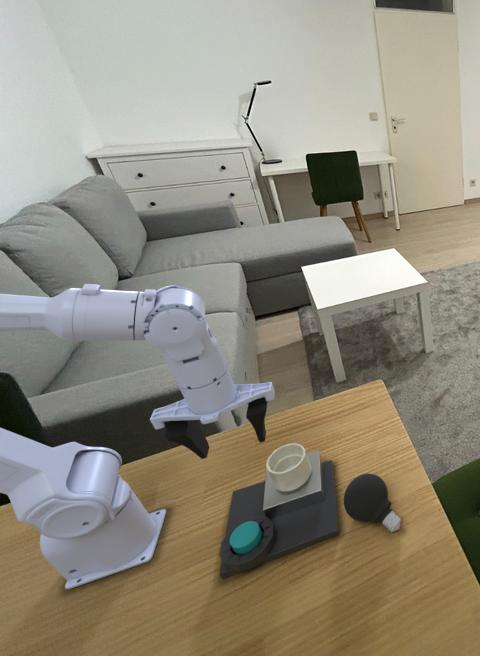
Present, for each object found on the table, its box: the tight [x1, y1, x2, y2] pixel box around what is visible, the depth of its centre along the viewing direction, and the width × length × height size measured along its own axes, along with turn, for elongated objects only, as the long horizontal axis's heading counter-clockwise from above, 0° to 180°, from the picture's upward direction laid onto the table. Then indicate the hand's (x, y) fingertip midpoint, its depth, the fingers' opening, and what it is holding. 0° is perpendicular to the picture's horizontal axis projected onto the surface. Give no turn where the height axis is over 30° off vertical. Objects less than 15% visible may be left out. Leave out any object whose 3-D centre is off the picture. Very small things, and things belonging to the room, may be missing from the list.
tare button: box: [230, 521, 262, 554], centre depth 53 cm, size 4×4×2 cm
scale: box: [219, 459, 340, 580], centre depth 59 cm, size 15×14×3 cm
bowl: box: [265, 442, 311, 491], centre depth 60 cm, size 5×5×4 cm
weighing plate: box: [263, 449, 325, 520], centre depth 62 cm, size 8×8×4 cm
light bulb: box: [343, 473, 402, 534], centre depth 58 cm, size 6×6×10 cm
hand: (234, 445), depth 59 cm, fingers open, 7 cm apart
